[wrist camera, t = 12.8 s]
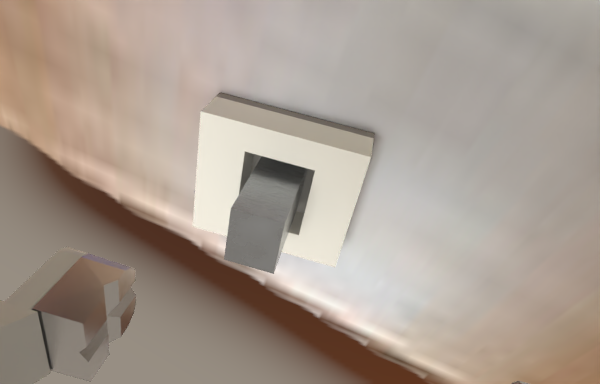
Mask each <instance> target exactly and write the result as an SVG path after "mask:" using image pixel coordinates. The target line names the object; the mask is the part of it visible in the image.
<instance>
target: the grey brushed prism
mask: <svg viewBox="0 0 600 384" xmlns="http://www.w3.org/2000/svg"><path fill="white" fill-rule="evenodd" d="M306 173H307V168H304V167H300V166H296V165H293V164H289V163H285V162H282V161H278V160H275V159H271V158H267V157H264V156H262V157H261V158H260V160H259V162H258V163H257V165H256V167H255V168H254V170H253V172H252V173H251V175H250V177H249V179H248V180H247V182H246V184H245V185H244V187H243V189H242V190H241V192H240V194H239V195H238V197H237V199H236V200H235V202H234V204H233V206H232V207H231V211H230V218H229V226H228V234H227V242H226V249H225V257H224V259H225V260H228V261H232V262H235V263H238V264H242V265H245V266H249V267H252V268H256V269H259V270H263V271H266V272H270V273H273V274H274V271H275V269H276V266H277V263H278V260H279V258H280V255H281V252H282V249H283V247H284V244H285V241H286V238H287V236H288V233H289V230H290V227H291V225H292V222H293V219H294V216H295V214H296V211H297V208H298V205H299V202H300V198H301V194H302V190H303V185H304V181H305V177H306Z"/></svg>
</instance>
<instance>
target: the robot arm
mask: <svg viewBox="0 0 600 384" xmlns="http://www.w3.org/2000/svg"><path fill="white" fill-rule="evenodd" d="M135 280H136V277H135V269H134V268H131V267H129V266H125V265H122V264H119V263H116V262H113V261H110V260H107V259H104V258H101V257H98V256H95V255H91V254H88V253H85V252H81V251H78V250H75V249H72V248H69V247H65V248H62V249H60V250H58V251H57V252H56V253H55V254H54V255H53V256H52V257H51V258H49V260H47V261H46V262H45V263H44V264H43V265H42V266H41V267H40V268H39V269H38V270H37V271H36V272H35V273H34V274H33V275H32V276H31V277H30V278H29V279H28V280H27V281H25V282H24V283H23V284H22V285H21V286H20V287H19V288H18V289H17V290H16V291H15V292H14V293H13V294H12V295H11V296H10V297H9V298H8V299H7V300H6V301H2V300H0V384H34V383H35V382H37V381H39V380H40V379H42V378H44V377H45V376H47V375H48V374H50V371H54V372H57V373H61V374H65V375H68V376H72V377H75V378H79V379H83V380H86V381H89V382H91V381H92V379H93V378H94V376H95V375H96V373H97V372H98V370H99V369H100V367H101V366H102V364H103V363H104V362H105V360H106V359H107V357H108V356H109V343H110V342H112V341H114V340H116V339H118V338H120V337H121V336H122V335H123V333H124V332H125V330H126V329H127V327H128V325H129V323H130V321H131V318H132V316H133V314H134V310H135V305H136V294H135V293H134V291H133V290H132V288H131V286H132V285H133V283H134V282H135ZM512 384H528V383H525V382H521V381H516V382H514V383H512Z"/></svg>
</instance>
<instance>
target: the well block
mask: <svg viewBox="0 0 600 384" xmlns="http://www.w3.org/2000/svg"><path fill="white" fill-rule="evenodd" d="M373 141H374V133H371V132H367V131H363V130H359V129H356V128H352V127H348V126H344V125H341V124H337V123H333V122H329V121H325V120H322V119H318V118H314V117H310V116H307V115H303V114H299V113H295V112H292V111H288V110H284V109H280V108H277V107H273V106H269V105H265V104H262V103H258V102H254V101H250V100H246V99H243V98H239V97H235V96H231V95H228V94H224V93H219V94H218V95H217V96H216V97H215V98H214V99H213V100H212V101H211V102H210V103H209V104H208V105H207V106H206V107H205V108H204V109H203V110H202V111H201V115H200V129H199V143H198V157H197V172H196V186H195V200H194V214H193V227H196V228H199V229H203V230H206V231H210V232H213V233H217V234H220V235H224V236H227V234H228V226H229V218H230V211H231V207H232V206H233V204H234V202H235V200H236V199H237V197H238V195H239V194H240V192H241V190H242V189H243V187H244V185H245V184H246V182H247V180H248V179H249V177H250V175H251V173H252V172H253V170H254V168H255V167H256V165H257V163H258V162H259V160H260V158H261V157H262V156H264V157H267V158H271V159H275V160H278V161H282V162H285V163H289V164H293V165H296V166H300V167H304V168H307V173H306V177H305V181H304V185H303V190H302V194H301V198H300V202H299V205H298V208H297V211H296V214H295V216H294V219H293V222H292V225H291V227H290V230H289V233H288V236H287V238H286V241H285V244H284V247H283V249H282V252H283V253H287V254H290V255H294V256H297V257H301V258H304V259H307V260H311V261H314V262H318V263H321V264H325V265H328V266H332V267H335V266H336V263H337V260H338V257H339V254H340V251H341V248H342V245H343V242H344V239H345V236H346V233H347V230H348V227H349V224H350V221H351V218H352V214H353V211H354V208H355V205H356V202H357V199H358V196H359V193H360V190H361V187H362V184H363V181H364V178H365V175H366V172H367V169H368V166H369V163H370V160H371V156H372V148H373Z"/></svg>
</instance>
